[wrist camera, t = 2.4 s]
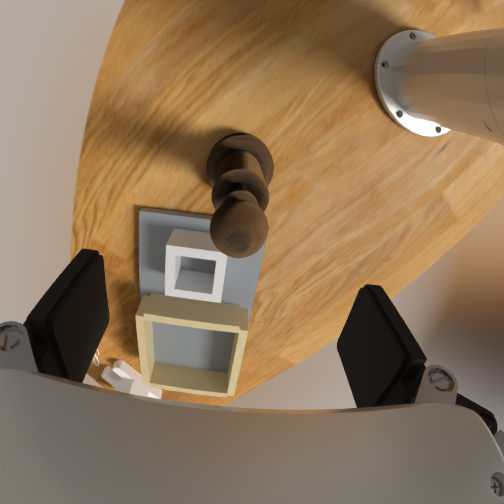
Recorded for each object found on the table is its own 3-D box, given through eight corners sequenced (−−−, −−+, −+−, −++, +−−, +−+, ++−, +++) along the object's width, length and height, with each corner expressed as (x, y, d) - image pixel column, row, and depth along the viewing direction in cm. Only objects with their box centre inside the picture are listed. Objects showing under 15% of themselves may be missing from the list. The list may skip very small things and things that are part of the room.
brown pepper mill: (274, 191, 32) (307, 290, 16) (213, 198, 32) (187, 302, 16) (268, 129, 29) (302, 165, 13) (204, 137, 29) (158, 183, 13)
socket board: (267, 223, 34) (272, 244, 29) (236, 371, 45) (236, 398, 40) (142, 207, 32) (127, 225, 28) (147, 359, 43) (139, 384, 39)
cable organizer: (144, 399, 49) (134, 444, 40) (103, 368, 45) (85, 414, 36) (163, 391, 47) (154, 439, 39) (120, 358, 44) (103, 407, 35)
